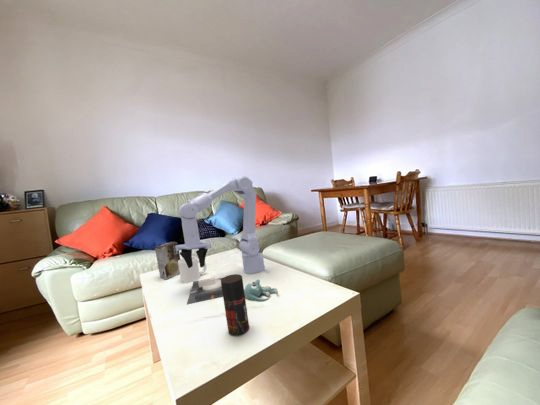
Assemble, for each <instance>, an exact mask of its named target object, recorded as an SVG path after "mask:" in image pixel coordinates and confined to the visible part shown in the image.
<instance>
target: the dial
mask: <svg viewBox="0 0 540 405" xmlns="http://www.w3.org/2000/svg"><path fill="white" fill-rule="evenodd" d="M192 285H193V288H194V289H195V288H199V287H202V288H203V292H207V291H212V290H216V289H221V288H222V286H221V280H220V279H218V278H215V277H210V278H206V279H200V280H195V281H193V283H192Z"/></svg>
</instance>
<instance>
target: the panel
mask: <svg viewBox="0 0 540 405" xmlns="http://www.w3.org/2000/svg"><path fill="white" fill-rule="evenodd" d="M224 277H225V276H224ZM224 277H219V278H217V279H220V280H221V279H222V278H224ZM219 298H223V292H222V288H221V289H216V290H212V291H207V292H203V288H202V287H199V288H195V289H194V288H193V284H192V286H191V289H190V291H189V295H188V298H187V302H186V305H187V306H188V305H190V304H191V305H192V304H197V303H202V302H205V301H211V300H215V299H219Z"/></svg>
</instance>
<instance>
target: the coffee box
mask: <svg viewBox="0 0 540 405" xmlns="http://www.w3.org/2000/svg"><path fill="white" fill-rule="evenodd" d="M177 245H179V243H178V242H177V241H169V242H165V243H162V244H159V245H157V246H154V250H155V256H156V261H157V262H156V263H157V268H158V273H159V278H160V279H162V280H163V279H164V280H166V281H167V280H169V279H171V278H174V277H176V276H178V275H180V271H179V265H178V261H179V260H181V259H182V258H181V255H180V250H179V251H176V246H177Z"/></svg>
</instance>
